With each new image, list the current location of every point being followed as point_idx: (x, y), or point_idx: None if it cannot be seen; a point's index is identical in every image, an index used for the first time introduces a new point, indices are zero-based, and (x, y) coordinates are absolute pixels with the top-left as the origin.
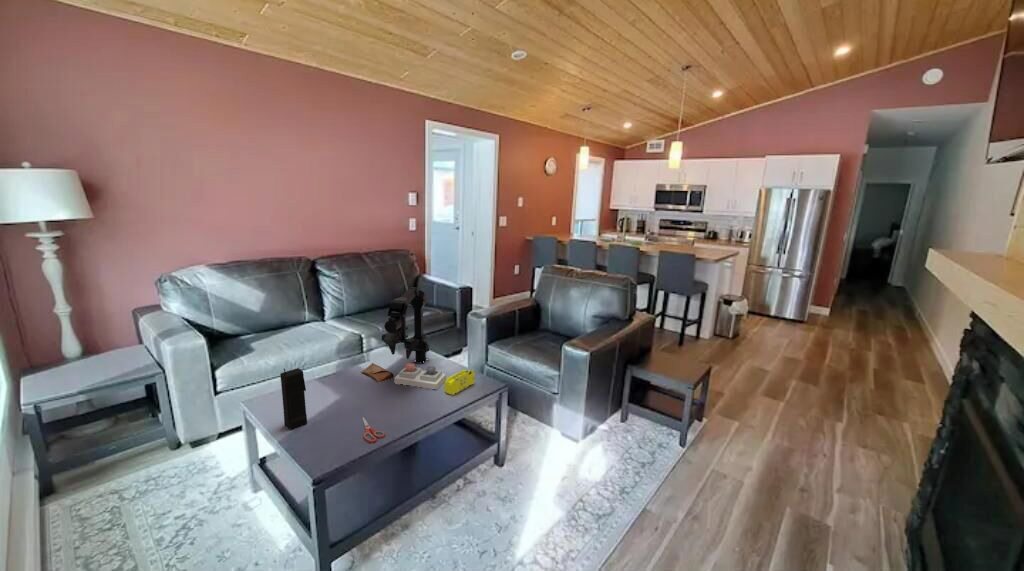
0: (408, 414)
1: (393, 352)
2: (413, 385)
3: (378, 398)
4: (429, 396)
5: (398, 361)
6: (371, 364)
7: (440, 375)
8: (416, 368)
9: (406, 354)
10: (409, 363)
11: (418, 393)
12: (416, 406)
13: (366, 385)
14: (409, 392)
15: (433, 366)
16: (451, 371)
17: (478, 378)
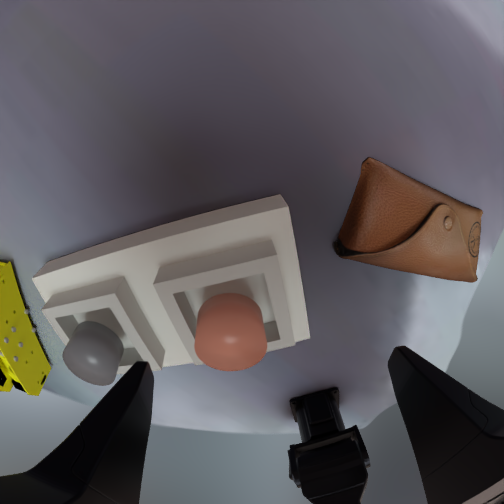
0: (7, 32)
1: (402, 374)
2: (150, 230)
3: (226, 5)
4: (24, 196)
5: None
6: (474, 269)
7: None
8: None
9: (115, 412)
10: (256, 360)
11: (74, 184)
12: (10, 91)
13: (403, 102)
14: (117, 160)
15: (97, 383)
16: None
17: (52, 386)
